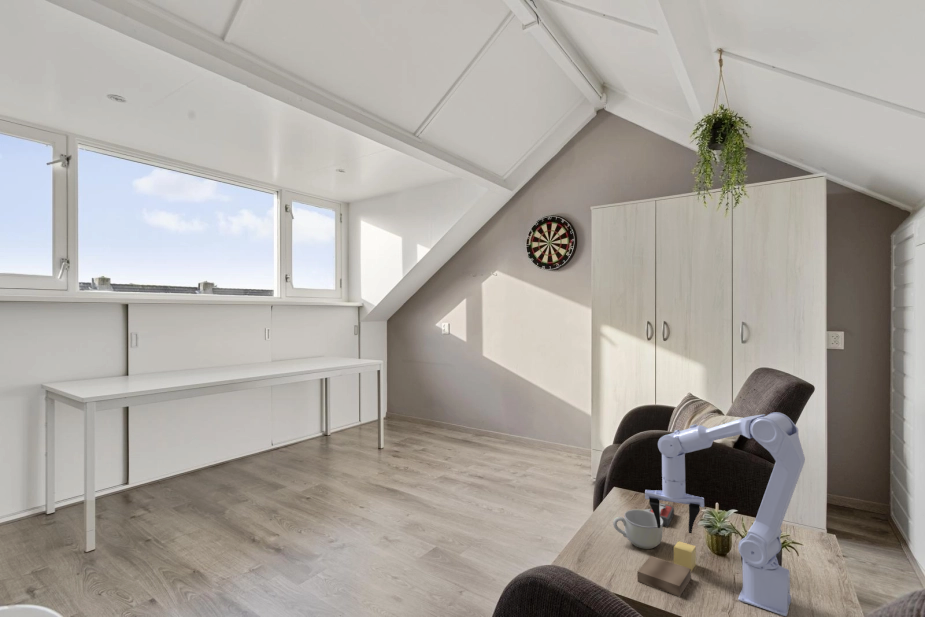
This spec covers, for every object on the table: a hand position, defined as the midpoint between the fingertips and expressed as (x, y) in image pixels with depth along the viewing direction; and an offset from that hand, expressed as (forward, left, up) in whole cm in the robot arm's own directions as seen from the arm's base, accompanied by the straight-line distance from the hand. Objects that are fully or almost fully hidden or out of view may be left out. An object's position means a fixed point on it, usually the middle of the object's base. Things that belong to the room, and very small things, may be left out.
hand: (674, 529), depth 127 cm
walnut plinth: (0, +10, -9) cm, 14 cm away
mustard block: (-2, -1, -10) cm, 10 cm away
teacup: (+12, -5, -10) cm, 16 cm away
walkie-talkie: (+13, -24, -10) cm, 29 cm away
